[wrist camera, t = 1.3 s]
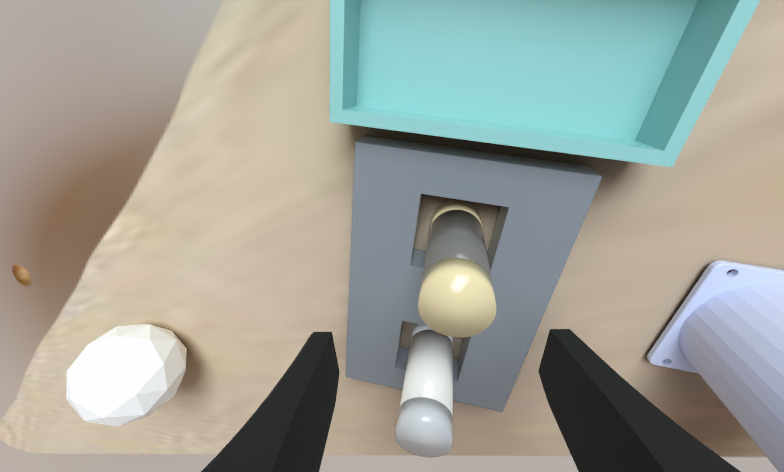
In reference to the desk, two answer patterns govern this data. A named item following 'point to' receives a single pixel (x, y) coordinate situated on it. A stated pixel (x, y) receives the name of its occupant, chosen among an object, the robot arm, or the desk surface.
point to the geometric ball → (126, 374)
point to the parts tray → (534, 70)
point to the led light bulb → (456, 274)
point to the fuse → (427, 395)
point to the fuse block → (505, 255)
